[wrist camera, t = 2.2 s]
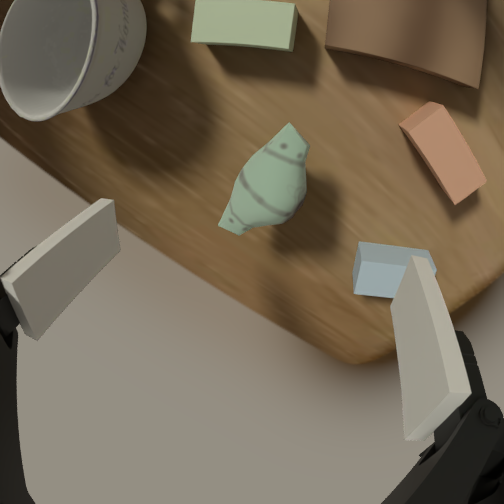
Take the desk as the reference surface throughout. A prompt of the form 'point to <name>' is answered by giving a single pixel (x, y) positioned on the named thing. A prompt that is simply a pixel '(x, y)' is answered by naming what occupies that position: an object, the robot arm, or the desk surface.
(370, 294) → the brick blue
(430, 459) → the robot arm
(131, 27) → the teacup
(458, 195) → the brick terracotta
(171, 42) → the desk surface
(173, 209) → the desk surface
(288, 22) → the brick sage
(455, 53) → the plinth
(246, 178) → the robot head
